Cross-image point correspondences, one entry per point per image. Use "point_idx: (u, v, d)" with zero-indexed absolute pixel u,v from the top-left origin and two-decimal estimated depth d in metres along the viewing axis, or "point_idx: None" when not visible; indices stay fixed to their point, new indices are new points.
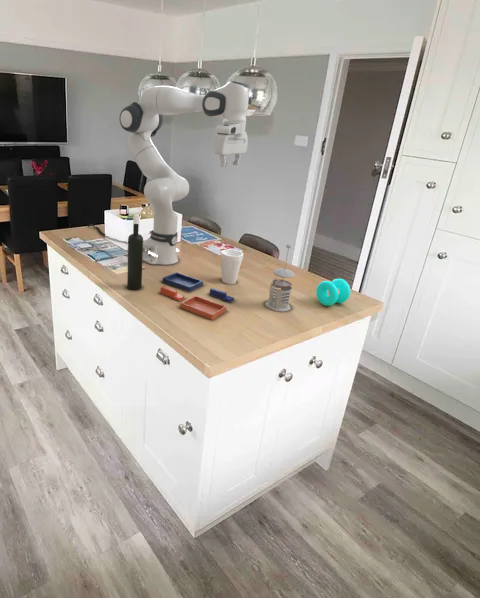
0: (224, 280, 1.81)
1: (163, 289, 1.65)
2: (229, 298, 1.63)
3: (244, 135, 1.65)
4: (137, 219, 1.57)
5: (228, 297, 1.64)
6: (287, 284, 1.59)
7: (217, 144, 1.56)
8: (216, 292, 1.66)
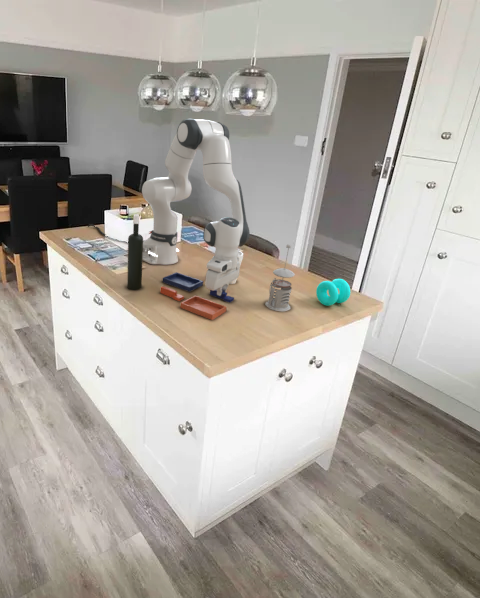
0: None
1: (163, 289, 1.65)
2: (229, 298, 1.63)
3: (236, 264, 1.64)
4: (137, 219, 1.57)
5: (228, 297, 1.64)
6: (287, 284, 1.59)
7: (208, 281, 1.55)
8: (216, 292, 1.66)
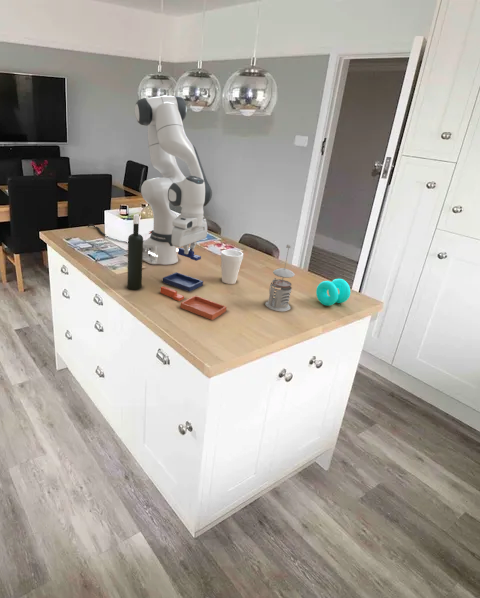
0: (224, 280, 1.81)
1: (163, 289, 1.65)
2: (196, 256, 1.68)
3: (203, 223, 1.69)
4: (137, 219, 1.57)
5: (195, 256, 1.68)
6: (287, 284, 1.59)
7: (174, 237, 1.59)
8: None
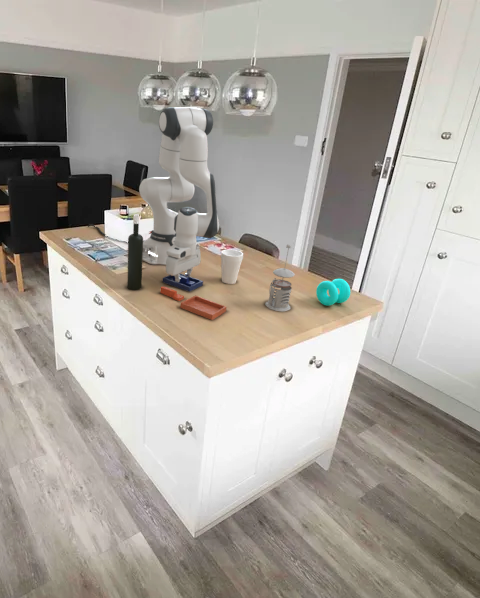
0: (224, 280, 1.81)
1: (163, 289, 1.65)
2: (190, 283, 1.73)
3: (196, 251, 1.75)
4: (137, 219, 1.57)
5: (190, 282, 1.74)
6: (287, 284, 1.59)
7: (168, 266, 1.65)
8: None
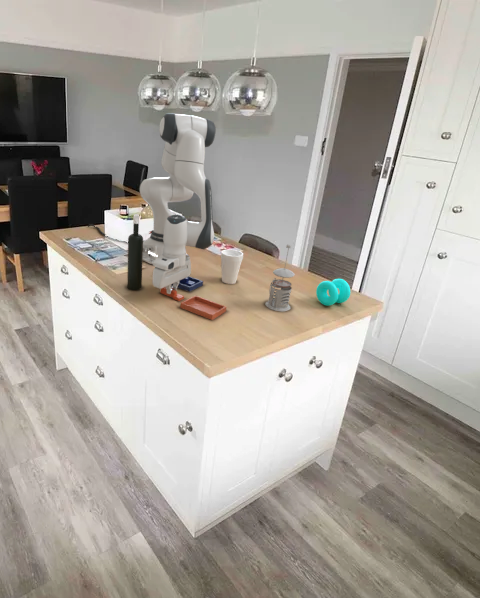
0: (224, 280, 1.81)
1: (163, 289, 1.65)
2: (190, 283, 1.73)
3: (186, 262, 1.62)
4: (137, 219, 1.57)
5: (190, 282, 1.74)
6: (287, 284, 1.59)
7: (155, 279, 1.53)
8: None
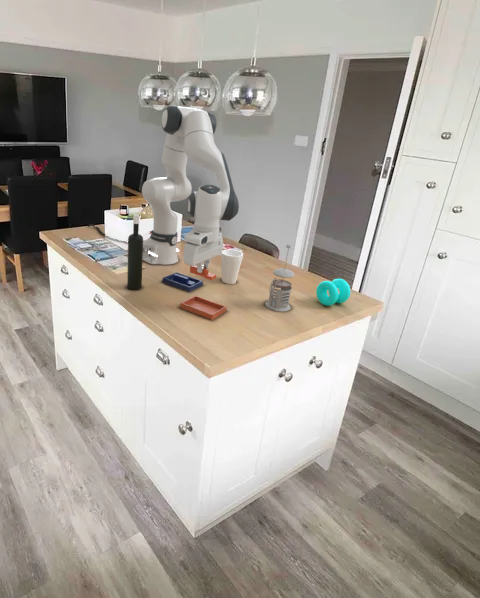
0: (224, 280, 1.81)
1: (193, 268, 1.51)
2: (190, 283, 1.73)
3: (218, 238, 1.49)
4: (137, 219, 1.57)
5: (190, 282, 1.74)
6: (287, 284, 1.59)
7: (187, 255, 1.40)
8: (179, 277, 1.76)
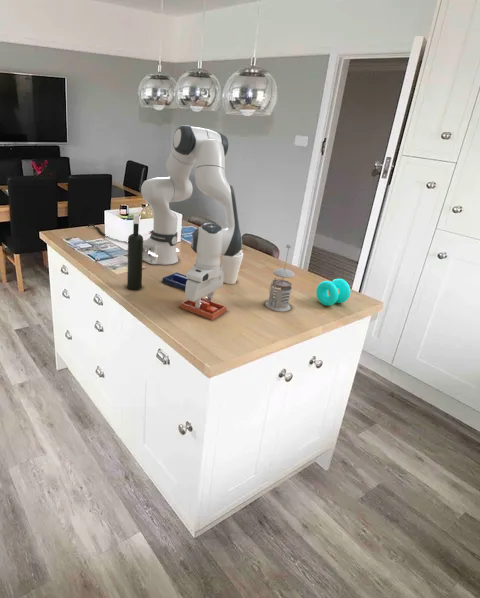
0: (224, 280, 1.81)
1: None
2: None
3: (219, 272, 1.53)
4: (137, 219, 1.57)
5: None
6: (287, 284, 1.59)
7: (188, 291, 1.44)
8: (179, 277, 1.76)
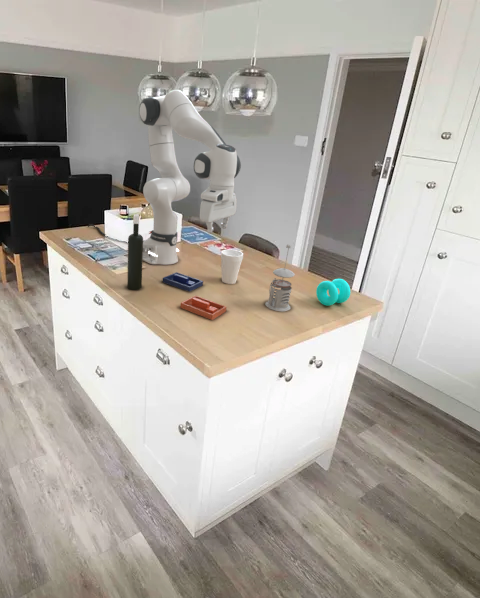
0: (224, 280, 1.81)
1: (195, 301, 1.55)
2: (190, 283, 1.73)
3: (233, 198, 1.54)
4: (137, 219, 1.57)
5: (190, 282, 1.74)
6: (287, 284, 1.59)
7: (203, 212, 1.45)
8: (179, 277, 1.76)
